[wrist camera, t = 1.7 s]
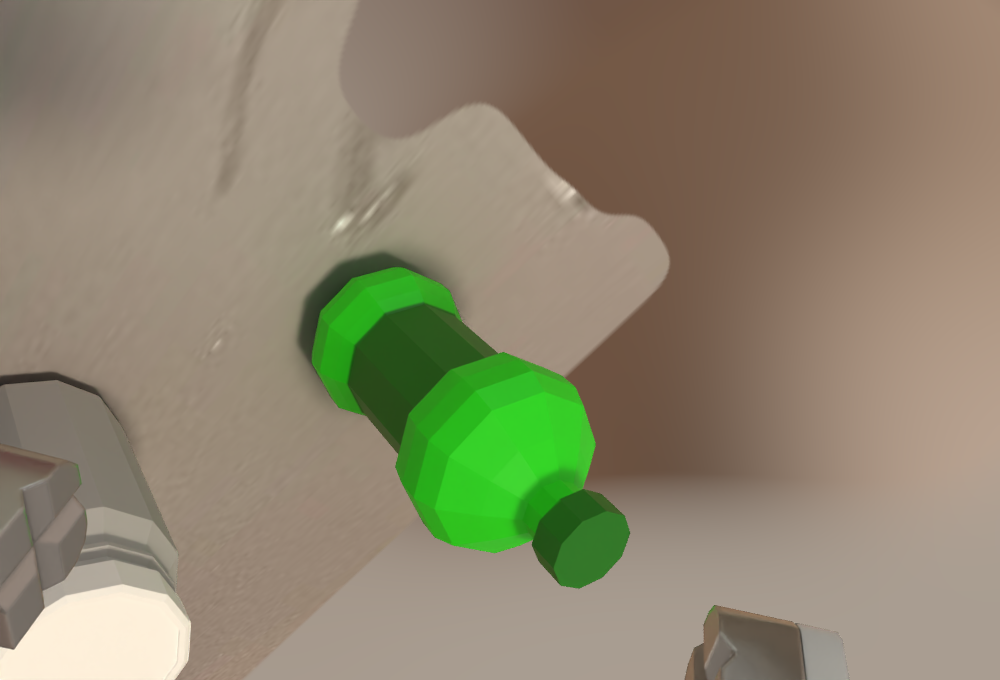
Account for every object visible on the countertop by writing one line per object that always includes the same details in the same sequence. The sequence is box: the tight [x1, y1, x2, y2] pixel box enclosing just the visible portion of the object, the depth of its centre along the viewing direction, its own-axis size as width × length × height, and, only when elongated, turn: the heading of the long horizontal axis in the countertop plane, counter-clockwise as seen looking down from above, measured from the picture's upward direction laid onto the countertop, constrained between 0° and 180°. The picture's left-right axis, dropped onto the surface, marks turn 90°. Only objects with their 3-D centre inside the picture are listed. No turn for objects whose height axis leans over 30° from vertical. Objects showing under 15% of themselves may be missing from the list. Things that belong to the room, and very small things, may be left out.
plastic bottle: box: [312, 267, 630, 588], centre depth 52 cm, size 10×10×25 cm
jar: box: [0, 380, 191, 680], centre depth 47 cm, size 10×10×18 cm
